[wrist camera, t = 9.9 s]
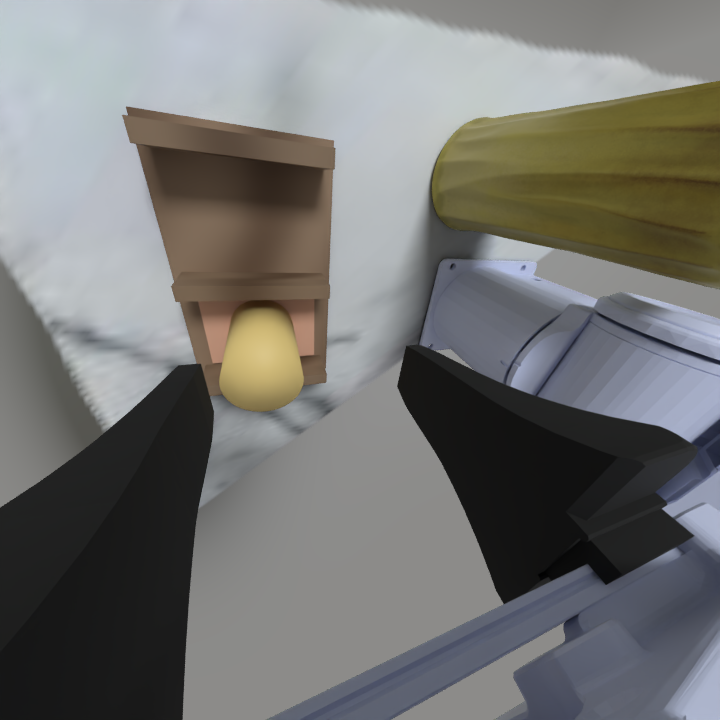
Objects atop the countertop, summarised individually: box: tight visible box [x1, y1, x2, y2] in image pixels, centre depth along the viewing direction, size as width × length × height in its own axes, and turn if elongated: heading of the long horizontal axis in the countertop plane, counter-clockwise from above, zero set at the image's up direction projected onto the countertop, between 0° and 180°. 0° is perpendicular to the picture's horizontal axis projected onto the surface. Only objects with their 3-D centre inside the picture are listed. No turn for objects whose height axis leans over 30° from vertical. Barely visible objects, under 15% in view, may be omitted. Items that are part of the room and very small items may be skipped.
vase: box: [432, 81, 720, 289], centre depth 12 cm, size 6×6×14 cm
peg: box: [219, 300, 304, 412], centre depth 16 cm, size 4×4×6 cm
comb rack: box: [122, 107, 335, 396], centre depth 16 cm, size 9×15×3 cm, turn 174°
